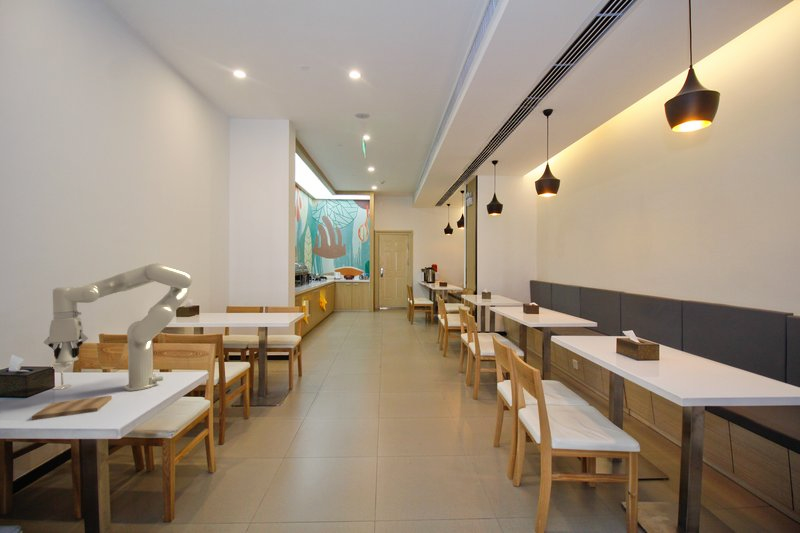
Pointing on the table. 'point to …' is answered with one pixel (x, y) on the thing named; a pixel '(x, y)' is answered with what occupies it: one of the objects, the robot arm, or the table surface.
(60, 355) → the flask
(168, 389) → the table surface
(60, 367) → the wineglass
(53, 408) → the walnut board
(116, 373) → the table surface
